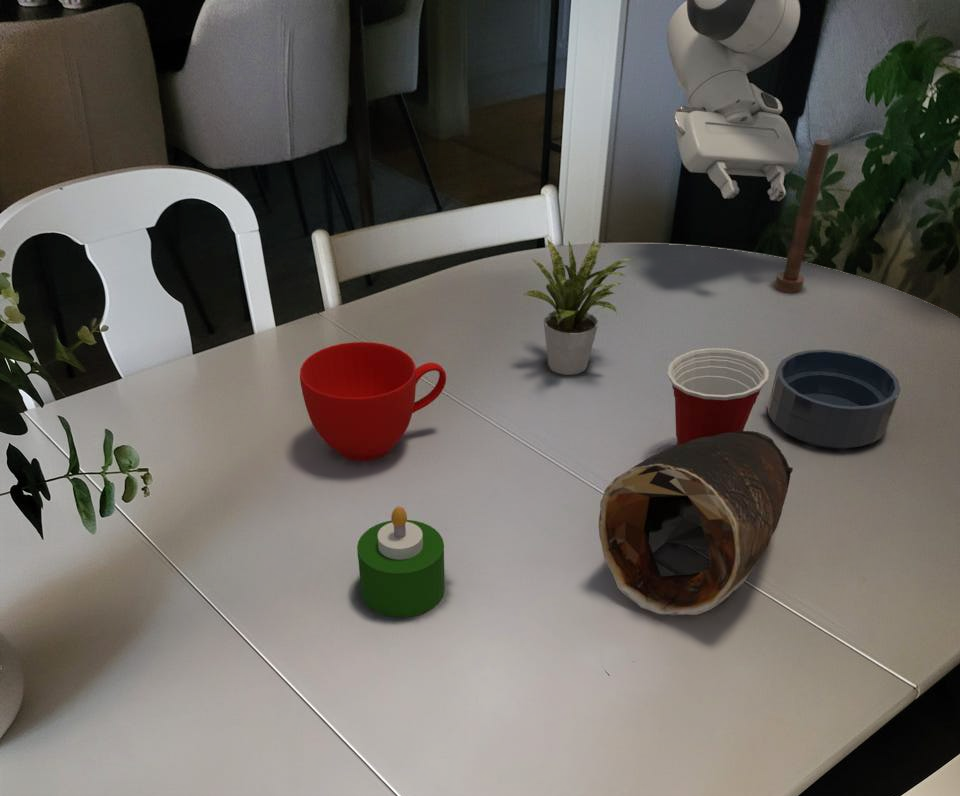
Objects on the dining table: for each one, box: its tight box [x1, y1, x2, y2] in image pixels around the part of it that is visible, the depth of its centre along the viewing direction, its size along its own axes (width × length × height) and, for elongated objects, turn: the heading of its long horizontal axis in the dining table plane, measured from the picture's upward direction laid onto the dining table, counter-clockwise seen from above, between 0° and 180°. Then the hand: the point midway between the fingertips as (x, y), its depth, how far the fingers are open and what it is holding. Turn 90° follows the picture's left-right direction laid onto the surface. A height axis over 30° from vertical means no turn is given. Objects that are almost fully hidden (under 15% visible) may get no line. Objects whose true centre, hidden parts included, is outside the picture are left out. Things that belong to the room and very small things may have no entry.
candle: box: [356, 506, 446, 618], centre depth 93 cm, size 8×8×10 cm
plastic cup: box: [667, 347, 770, 445], centre depth 110 cm, size 11×11×12 cm
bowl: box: [767, 349, 901, 450], centre depth 119 cm, size 14×14×6 cm
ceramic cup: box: [299, 341, 447, 462], centre depth 113 cm, size 13×17×10 cm
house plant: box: [524, 238, 637, 376], centre depth 124 cm, size 14×14×16 cm
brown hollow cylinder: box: [598, 430, 794, 616], centre depth 98 cm, size 15×15×25 cm
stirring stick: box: [774, 139, 832, 294], centre depth 142 cm, size 4×4×21 cm
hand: (756, 197), depth 138 cm, fingers open, 8 cm apart
